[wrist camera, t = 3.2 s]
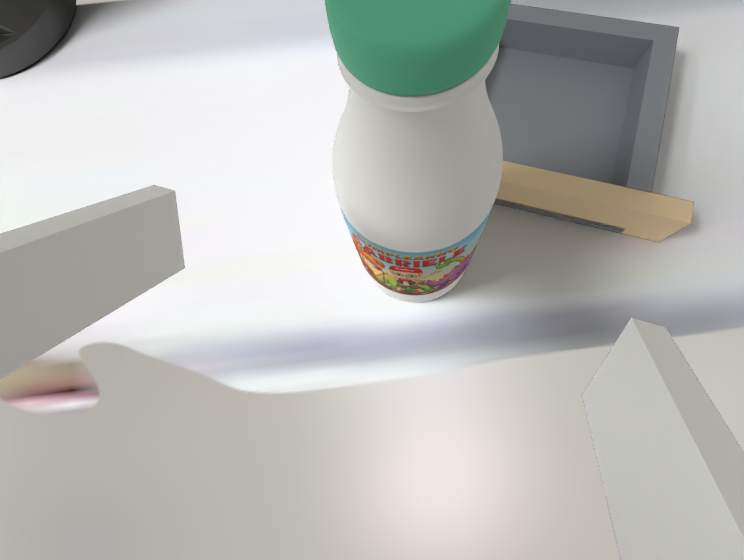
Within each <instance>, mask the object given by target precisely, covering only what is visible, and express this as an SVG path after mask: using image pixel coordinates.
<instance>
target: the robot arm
mask: <svg viewBox="0 0 744 560" xmlns="http://www.w3.org/2000/svg"><path fill="white" fill-rule="evenodd" d="M75 7H76V0H0V77H4V76H7V75H10V74H13V73H15V72H18V71H20V70H22V69H24V68H26V67H28V66H30V65H31V64H33V63H34V62H36V61H37V60H39V59H40V58H41V57H43V56H44V55H45V54H46V53H48V52H49V51H50V50H51V49H52V48H53V47H54V46H55V45H56V44H57V43H58V41H59V40H60V39H61V38H62V36H63V35H64V33H65V32H66V30H67V29H68V27H69V25H70V23H71V21H72V18H73V16H74V12H75ZM184 268H185V265H184V258H183V250H182V242H181V234H180V226H179V218H178V211H177V203H176V195H175V191H174V190H170V189H167V188H163V187H159V186H156V185H153V186H150V187H147V188H143V189H140V190H137V191H134V192H131V193H128V194H124V195H121V196H118V197H115V198H112V199H109V200H106V201H102V202H99V203H96V204H93V205H90V206H87V207H84V208H80V209H77V210H74V211H71V212H68V213H65V214H62V215H58V216H55V217H52V218H49V219H46V220H43V221H40V222H36V223H33V224H30V225H27V226H24V227H21V228H17V229H14V230H11V231H8V232H5V233H2V234H0V379H2V378H4V377H5V376H7V375H9V374H10V373H12V372H14V371H15V370H17V369H19V368H20V367H22V366H24V365H25V364H27V363H29V362H30V361H32V360H33V359H35V358H37V357H38V356H40V355H42V354H43V353H45V352H47V351H48V350H50V349H52V348H53V347H55V346H57V345H58V344H60V343H62V342H63V341H65V340H66V339H68V338H70V337H71V336H73V335H75V334H76V333H78V332H80V331H81V330H83V329H85V328H86V327H88V326H90V325H91V324H93V323H95V322H96V321H98V320H100V319H101V318H103V317H104V316H106V315H108V314H109V313H111V312H113V311H114V310H116V309H118V308H119V307H121V306H123V305H124V304H126V303H128V302H129V301H131V300H133V299H134V298H136V297H138V296H139V295H141V294H142V293H144V292H146V291H147V290H149V289H151V288H152V287H154V286H156V285H157V284H159V283H161V282H162V281H164V280H166V279H167V278H169V277H171V276H172V275H174V274H175V273H177V272H179V271H180V270H182V269H184ZM582 398H583V403H584V407H585V410H586V415H587V420H588V424H589V428H590V433H591V437H592V441H593V445H594V450H595V454H596V458H597V462H598V467H599V471H600V475H601V480H602V484H603V488H604V492H605V497H606V501H607V505H608V510H609V514H610V518H611V522H612V527H613V531H614V535H615V540H616V544H617V548H618V552H619V557H620V560H744V452H743V450H742V449H741V447H740V445H739V444H738V442H737V441H736V439H735V437H734V436H733V434H732V433H731V431H730V429H729V428H728V426H727V425H726V423H725V421H724V420H723V419H722V417H721V415H720V414H719V412H718V410H717V409H716V407H715V406H714V404H713V402H712V401H711V399H710V398H709V396H708V394H707V393H706V391H705V390H704V388H703V386H702V385H701V383H700V382H699V380H698V378H697V377H696V375H695V374H694V372H693V370H692V369H691V367H690V365H689V364H688V362H687V361H686V359H685V357H684V356H683V354H682V353H681V351H680V350H679V348H678V347H677V345H676V343H675V342H674V340H673V338H672V337H671V335H670V334H669V332H668V330H667V329H666V327H663V326H660V325H656V324H653V323H649V322H645V321H642V320H638V319H635V318H631V319H630V320H629V322H628V323H627V325H626V327H625V328H624V330H623V331H622V333H621V334H620V336H619V338H618V339H617V341H616V342H615V344H614V345H613V347H612V349H611V350H610V352H609V353H608V355H607V356H606V358H605V360H604V361H603V363H602V364H601V366H600V367H599V369H598V370H597V372H596V374H595V375H594V377H593V378H592V380H591V381H590V383H589V385H588V386H587V388H586V389H585V391H584V392H583V394H582Z"/></svg>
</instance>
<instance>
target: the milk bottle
mask: <svg viewBox="0 0 744 560" xmlns="http://www.w3.org/2000/svg"><path fill="white" fill-rule="evenodd" d="M510 3H511V0H325V5H326V12H327V17H328V23H329V28H330V31H331V35H332V38H333V42H334V45H335V49H336V51H337V59H338V65H339V68H340V71H341V74H342V76H343V78H344V79H345V81H346V83H347V84H348V85H349V87H350V89H349V96H348V101H347V104H346V107H345V110H344V112H343V115H342V117H341V120H340V123H339V126H338V129H337V132H336V136H335V141H334V147H333V178H334V185H335V190H336V194H337V198H338V201H339V204H340V207H341V210H342V213H343V216H344V219H345V221H346V224H347V227H348V229H349V232H350V234H351V237H352V239H353V242H354V244H355V246H356V249H357V251H358V254H359V256H360V258H361V261H362V263H363V265H364V268H365V270H366V272H367V274H368V275H369V277H370V279H371V280H372V282H373V283H374V284H375V285H376V286H377V287H378V288H379V289H380V290H381V291H382V292H384V293H385V294H387V295H389V296H390V297H393V298H395V299H398V300H401V301H406V302H425V301H429V300H433V299H436V298H438V297H440V296H442V295H444V294H445V293H447V292H448V291H450V290H451V289H452V288H453V287H454V286H455V285H456V284H457V283H458V282H459V280H460V279H461V277H462V275H463V274H464V272H465V270H466V268H467V266H468V264H469V262H470V259H471V257H472V255H473V253H474V250H475V248H476V246H477V244H478V241H479V239H480V237H481V234H482V232H483V230H484V227H485V225H486V223H487V220H488V218H489V215H490V213H491V210H492V207H493V204H494V202H495V199H496V196H497V193H498V189H499V185H500V180H501V174H502V166H503V147H502V140H501V134H500V129H499V125H498V122H497V119H496V116H495V113H494V111H493V108H492V106H491V103H490V101H489V98H488V95H487V91H486V85H485V79H486V78H487V76H488V75H489V73H490V72H491V70H492V68H493V66H494V64H495V62H496V59H497V56H498V51H499V42H500V40H501V37H502V34H503V31H504V27H505V24H506V21H507V17H508V13H509V8H510Z"/></svg>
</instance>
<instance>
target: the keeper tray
mask: <svg viewBox="0 0 744 560" xmlns="http://www.w3.org/2000/svg"><path fill="white" fill-rule="evenodd" d="M678 32H679V27H673V26H666V25H659V24H652V23H645V22H637V21H630V20H623V19H616V18H609V17H601V16H594V15H587V14H580V13H573V12H566V11H558V10H551V9H544V8H537V7H530V6H522V5H515V4H510V8H509V13H508V17H507V21H506V24H505V27H504V31H503V34H502V37H501V40H500V42H499V51H498V56H497V59H496V62H495V64H494V66H493V68H492V70H491V72H490V73H489V75H488V76H487V78H486V79H485V85H486V91H487V95H488V98H489V101H490V103H491V106H492V108H493V111H494V113H495V116H496V119H497V122H498V125H499V129H500V134H501V140H502V147H503V166H502V174H501V180H500V185H499V189H498V193H497V196H496V199H495V202H494V203H495V204H500V205H504V206H508V207H512V208H517V209H521V210H525V211H529V212H533V213H538V214H542V215H546V216H550V217H555V218H559V219H563V220H567V221H571V222H576V223H580V224H584V225H588V226H593V227H597V228H601V229H605V230H609V231H614V232H618V233H622V234H626V235H631V236H635V237H639V238H643V239H648V240H652V241H656V242H660V241H662V240H663V239H665V238H667V237H668V236H670V235H672V234H673V233H675V232H677V231H679V230H680V229H682V228H684V227H685V226H687V225H689V224H691V220H692V213H693V206H694V202H692V201H688V200H683V199H678V198H674V197H669V196H664V195H660V194H655V193H651V192H652V188H653V182H654V176H655V170H656V164H657V158H658V152H659V146H660V140H661V134H662V128H663V122H664V116H665V110H666V104H667V98H668V92H669V86H670V80H671V74H672V68H673V62H674V56H675V50H676V44H677V38H678Z"/></svg>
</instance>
